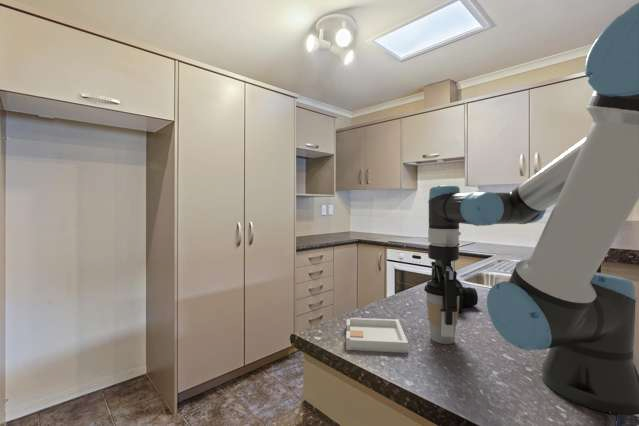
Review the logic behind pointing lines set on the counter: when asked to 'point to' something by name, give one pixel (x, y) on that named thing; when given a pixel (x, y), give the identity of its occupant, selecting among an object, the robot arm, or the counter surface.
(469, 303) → the camera
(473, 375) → the counter surface
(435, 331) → the coffee cup
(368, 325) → the tray
